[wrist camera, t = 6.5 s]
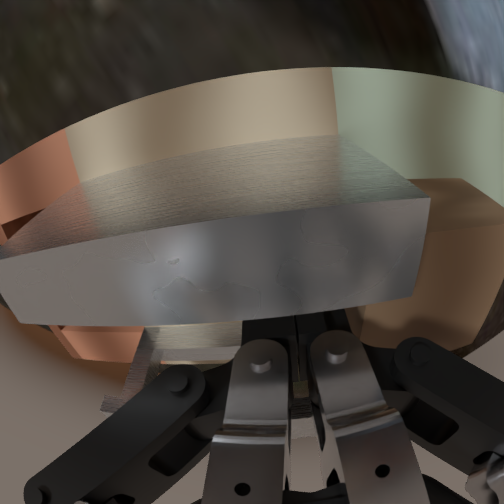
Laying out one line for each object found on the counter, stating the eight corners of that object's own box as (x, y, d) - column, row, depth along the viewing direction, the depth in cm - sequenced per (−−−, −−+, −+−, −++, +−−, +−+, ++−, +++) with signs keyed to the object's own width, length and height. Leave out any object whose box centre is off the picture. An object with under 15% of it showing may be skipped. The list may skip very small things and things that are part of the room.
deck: (471, 88, 10) (518, 98, 6) (446, 283, 17) (470, 319, 14) (17, 158, 12) (-24, 181, 9) (92, 320, 20) (73, 358, 16)
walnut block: (461, 178, 9) (522, 221, 6) (437, 287, 12) (472, 343, 9) (334, 183, 10) (374, 238, 6) (332, 305, 13) (351, 375, 9)
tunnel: (338, 134, 9) (430, 197, 4) (336, 324, 14) (361, 427, 9) (80, 182, 10) (-17, 263, 5) (151, 339, 14) (124, 431, 10)
